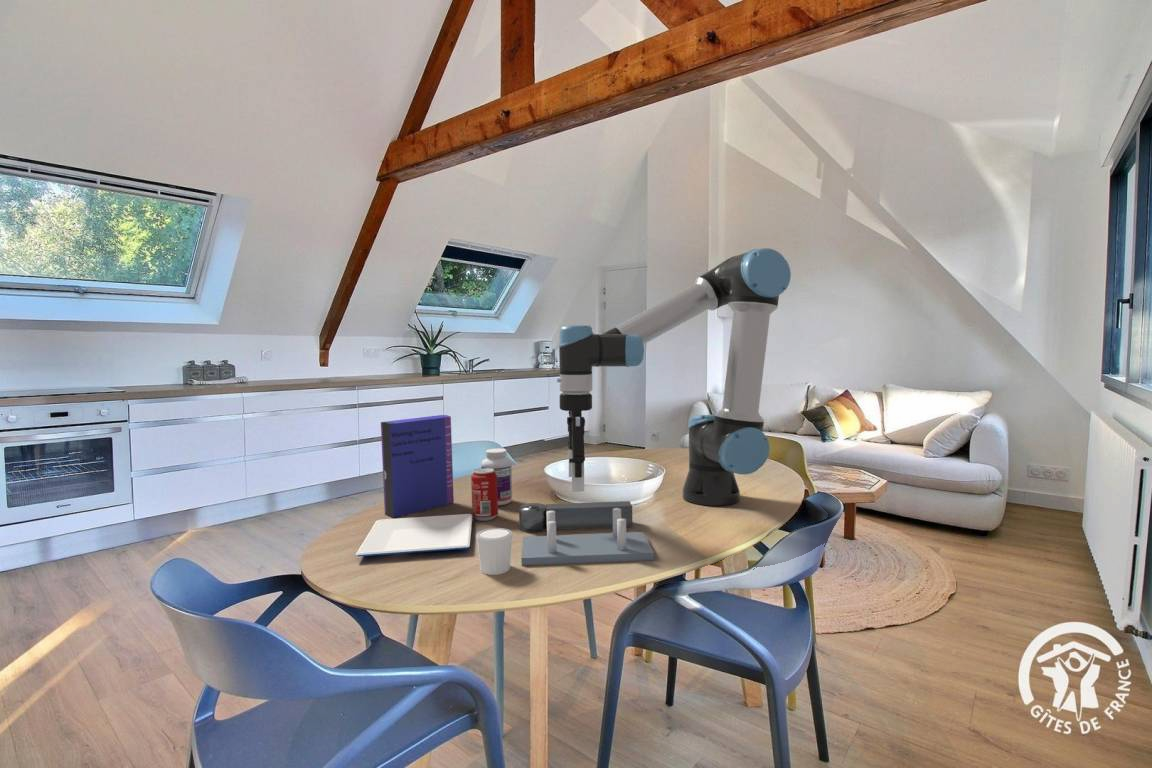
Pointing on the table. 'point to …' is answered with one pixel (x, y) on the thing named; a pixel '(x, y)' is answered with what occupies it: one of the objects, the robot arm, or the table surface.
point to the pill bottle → (500, 473)
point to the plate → (417, 535)
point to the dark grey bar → (573, 515)
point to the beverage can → (484, 494)
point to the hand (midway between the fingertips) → (576, 483)
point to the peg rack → (586, 545)
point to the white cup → (494, 550)
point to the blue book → (417, 464)
